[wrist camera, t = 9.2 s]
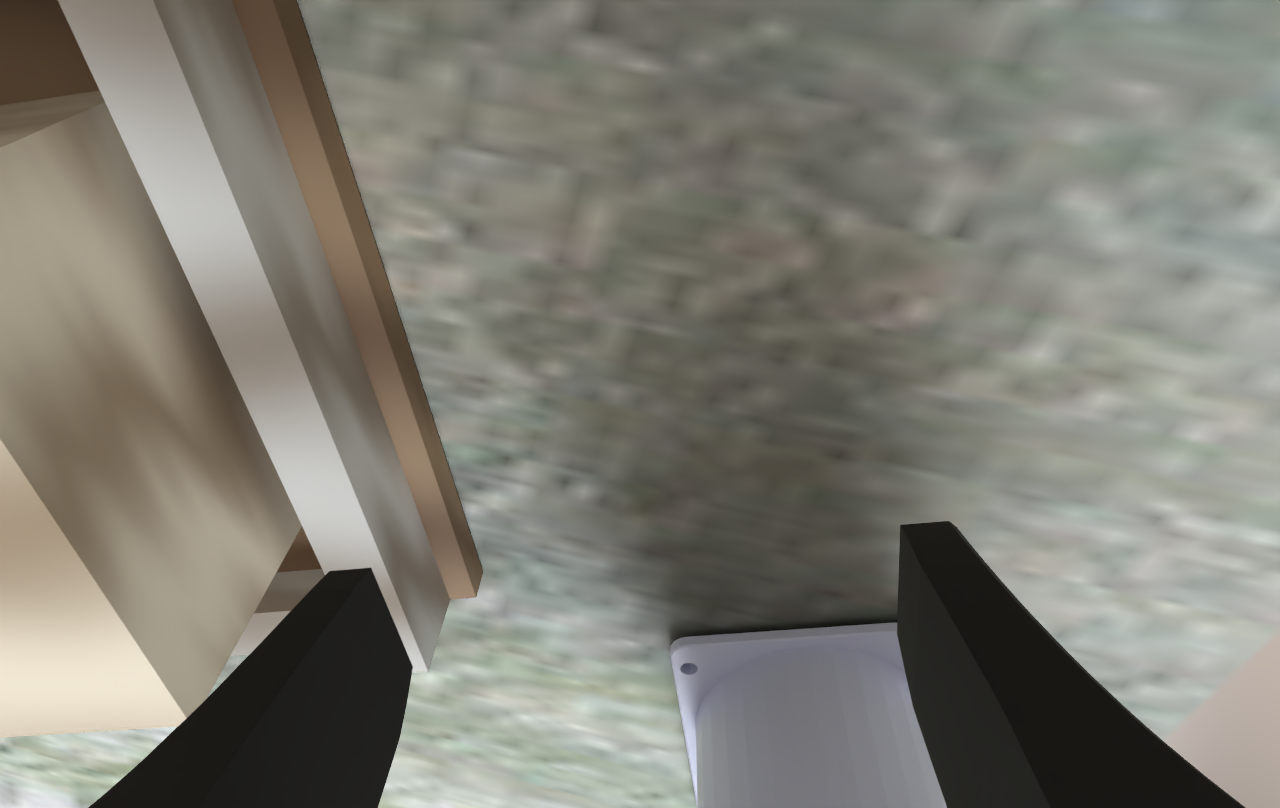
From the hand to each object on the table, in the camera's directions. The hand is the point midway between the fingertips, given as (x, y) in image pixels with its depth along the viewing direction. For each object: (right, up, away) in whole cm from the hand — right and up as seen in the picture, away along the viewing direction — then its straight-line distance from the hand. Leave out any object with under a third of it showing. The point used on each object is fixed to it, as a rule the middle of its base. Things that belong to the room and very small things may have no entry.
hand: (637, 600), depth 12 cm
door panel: (-11, +5, +8) cm, 14 cm away
